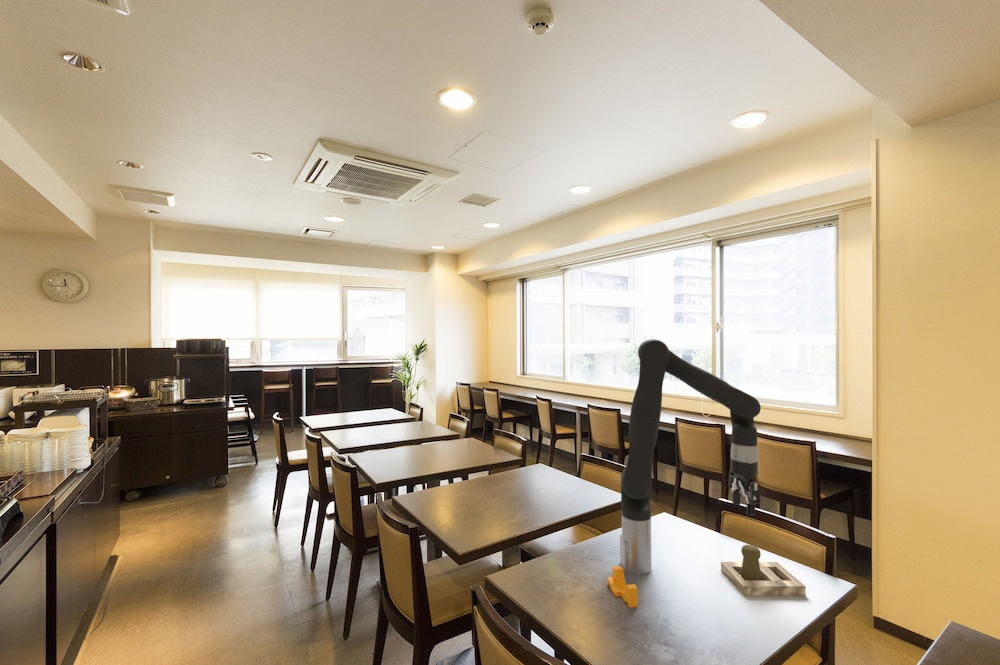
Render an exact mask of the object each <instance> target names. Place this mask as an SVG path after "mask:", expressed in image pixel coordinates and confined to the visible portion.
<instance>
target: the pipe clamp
mask: <svg viewBox="0 0 1000 665" xmlns="http://www.w3.org/2000/svg"><path fill="white" fill-rule="evenodd" d="M606 584H607V586H608V587H609V588H610V591H611V592H612V593H613V595H614V597H621V598H622V600H623V601H624V602H625V603H626V604H627V607H628V608H638V606H639V603H638V602H639V598H638V597H639V595H638V594H639V591H638V588H639V587H637V585H636V584H635V583H634V584H627V582H626V579H625V571H624V569H623V567H622V566H621V565H617V566H612V576H610V577H607V583H606Z"/></svg>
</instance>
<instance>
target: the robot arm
mask: <svg viewBox="0 0 1000 665" xmlns="http://www.w3.org/2000/svg"><path fill="white" fill-rule="evenodd" d="M637 355H638V359H639V375H638V377H639V378H638V383H637V387H636V389H635V393H634V396H633V399H632V403H631V407H630V408H631V409H630V414H629V415H630V416H629V422H628V458H627V463H626V466H625V467H624V468H623V470H622V472H621V475H620V495H621V496H620V497H621V498H620V499H621V500H620V503H621V534H620V535H619V552H620V553H619V555H620V557H619V558H620V560H619V562H620V566H621V567H622V568H623V569H624V573H629V574H632V575H636V576H645V575H648V574H650V573H651V572H652V566H653V565H652V509H651V508H652V506H651V505H652V504H651V489H652V487H653V486H652V481H653V480H652V479H653V478H652V474H653V469H652V468H653V457H654V453H655V452H654V451H655V449H656V444H657V439H658V434H659V427H660V422H661V415H662V404H663V403H662V400H663V383H664V379H665V374H666V373H667V374H670V376H671V375H672V376H673V377H674V378H676V379H679V380H680V381H681V382H683V383H684V384H686V385H687V386H689V387H690V388H691V389H693V390H695V391H697V392H698V393H700V394H701V395H703V396H705V397H707V398H708V399H710V400H712V401H714V402H716V403H719V404H721V405H722V406H724V407H725V408H727V409H729V415H730V421H731V423H730V424H731V446H730V461H729V462H730V464H729V466H730V469H729V471H728V488H729V489H730V491H731V493H732V499H731V500H732V504H733V505H734V506H740V505H741V496H742V495H743V497H745V500H746V515H747V516H748V517H755V516H756V505H761V485H760V483H755V481H754V478H755V477H756V476H758V474H759V451H758V450H759V449H758V430H757V428H756V426H755V419H754V418H755V417H757V416H758V415H759V414H760V412H761V404H760V402H759V400H758V399H757V398H755V396H753V395H750V394H748V393H747V392H745V391H743V390H740V389H739V388H737V387H735V386H733V385H731V384H730V383H728V382H727V381H726V380H723V379H722V378H719V377H718V376H717V375H715V374H713V373H711V372H709V371H707V370H705V369H703V368H701V367H699V366H697V365H695V364H692V363H690V362H688V361H687V360H685V359H683V358H681V357H680V356H678V355H677V354H675V353H674V352H673V351H671V350H670V349H669V347H668V345H667V344H666V343H665V342H663V341H661V340H660V339H654V338H651V339H647V340H644V341H643V342H642V343H641V344H640V345H639V347H638V350H637ZM741 493H742V495H741Z"/></svg>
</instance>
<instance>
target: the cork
mask: <svg viewBox="0 0 1000 665" xmlns="http://www.w3.org/2000/svg"><path fill="white" fill-rule="evenodd" d="M740 553H741V555H742V556H743V558H742V562H743V563H742V570H741V577H742V578H743V579H744V580H745V581H762V579H761V572H760V566H759V562H760V560H759V559H760V558H761V554H762V553H761V551H760V549H759V548H758V547H757V546H755V545H752V544H745V545H742V547H741V552H740Z"/></svg>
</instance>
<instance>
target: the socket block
mask: <svg viewBox="0 0 1000 665" xmlns="http://www.w3.org/2000/svg"><path fill="white" fill-rule="evenodd" d="M742 563H743V561H721V562H720V571H721V572H722V574H724V575H725V576H726V578H729V579H730V580H729V579H728V580H729V581H730V582H731V583H732V584H733V585H734V587H736V588H737V590H738V591H740V592H741V593H742V595H743V596H776V597H777V596H785V597H786V596H788V597H789V596H790V597H792V596H793V597H805V596H807V594H806V588H807V587H806V585H805V584H804V583H802V581H800V580H799V579H798V578H797V577H795V576H794V575H793V574H792V573H791V572H789V570H787V568H785V567H783V566H782V565H781V564H780V563H779V562H778V561H759V566H760V572H761V579H762V581H745V580H744V579H743V578H742V577H741V576H740V575H741V570H742Z"/></svg>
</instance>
